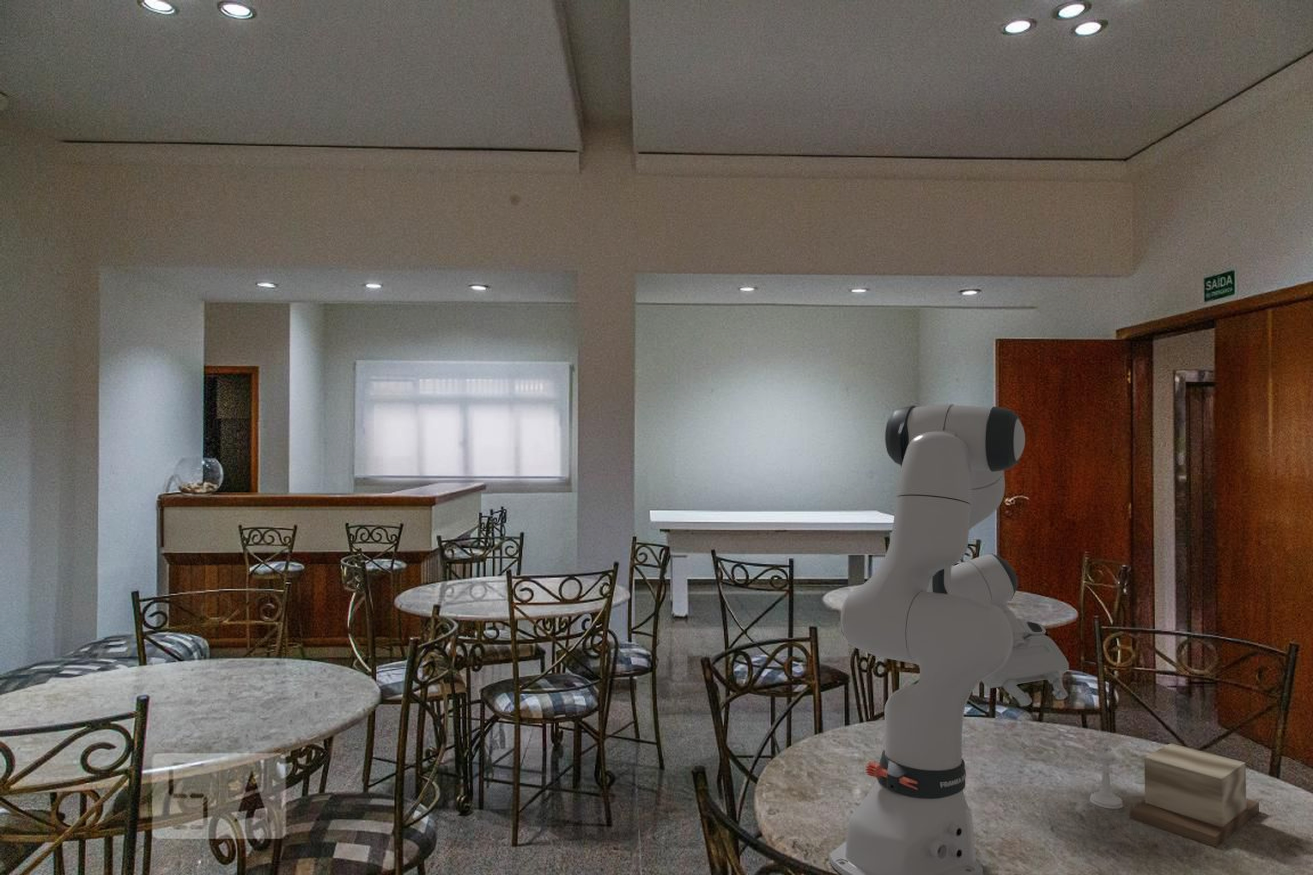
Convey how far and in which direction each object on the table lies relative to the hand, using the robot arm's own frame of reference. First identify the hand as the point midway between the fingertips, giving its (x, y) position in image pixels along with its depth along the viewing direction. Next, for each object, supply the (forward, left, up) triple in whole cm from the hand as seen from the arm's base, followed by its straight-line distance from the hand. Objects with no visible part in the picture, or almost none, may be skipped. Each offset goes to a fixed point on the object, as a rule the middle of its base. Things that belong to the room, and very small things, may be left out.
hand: (1045, 700), depth 146 cm
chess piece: (-3, -12, -14) cm, 19 cm away
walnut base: (+4, -23, -14) cm, 27 cm away
